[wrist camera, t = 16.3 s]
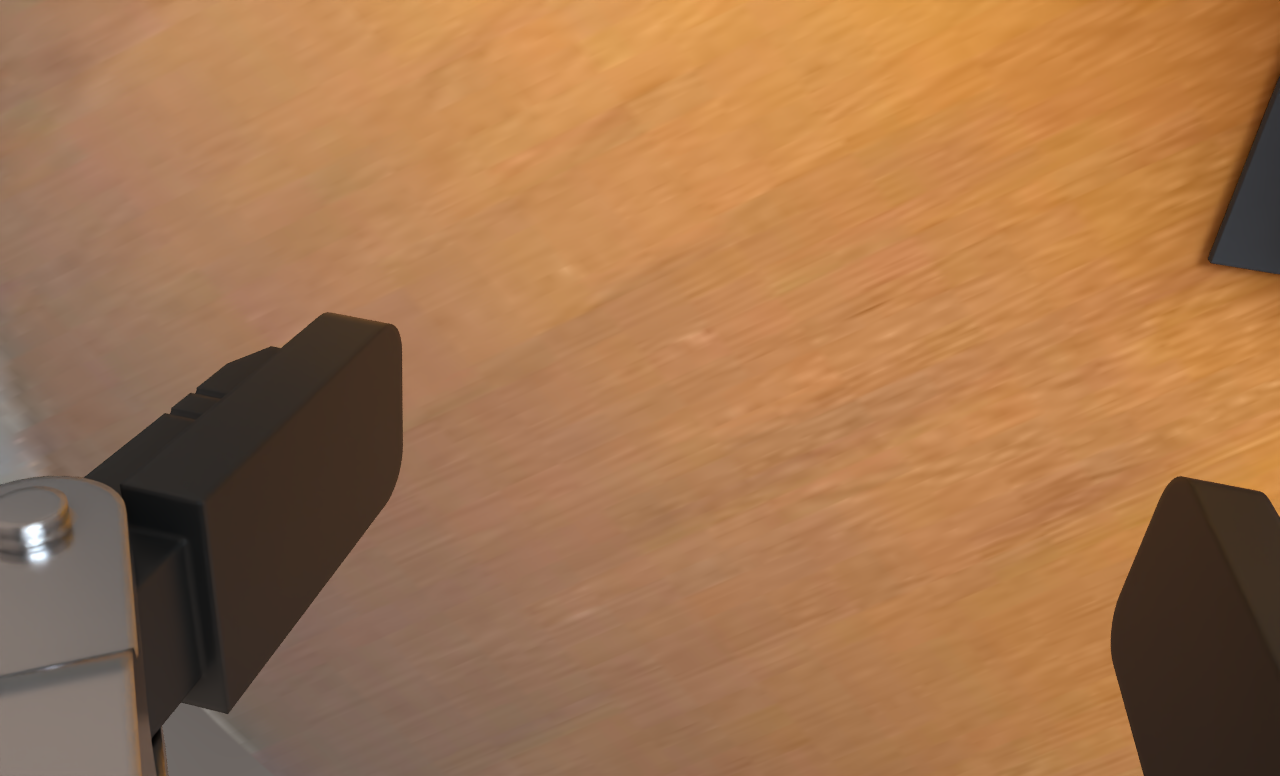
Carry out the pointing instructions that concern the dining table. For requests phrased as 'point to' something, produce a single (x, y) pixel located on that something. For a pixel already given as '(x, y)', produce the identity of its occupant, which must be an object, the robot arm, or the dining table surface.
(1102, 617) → the dining table surface
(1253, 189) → the felt mat
